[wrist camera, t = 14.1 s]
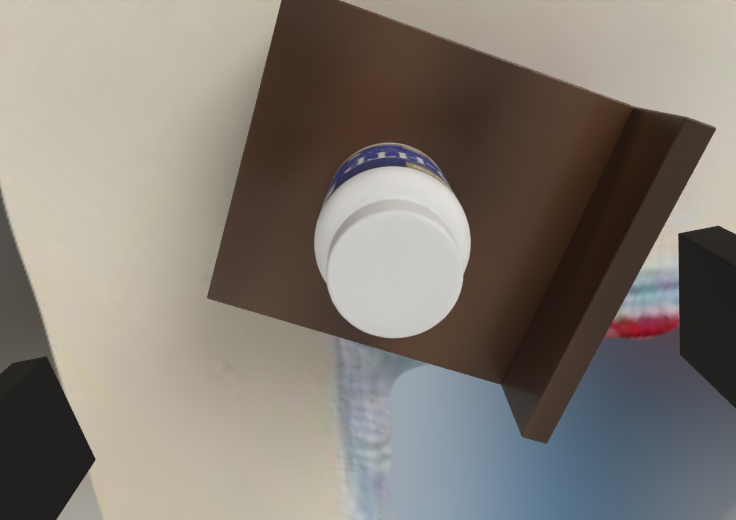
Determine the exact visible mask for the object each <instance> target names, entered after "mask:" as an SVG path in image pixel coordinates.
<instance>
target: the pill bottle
mask: <svg viewBox="0 0 736 520" xmlns="http://www.w3.org/2000/svg"><path fill="white" fill-rule="evenodd" d="M470 248H471V237H470V229H469V225H468V221H467V218H466V215H465V213H464V211H463V208H462V206H461V204H460V203H459V201H458V199H457V197H456V196H455V194H454V192H453V191H452V189H451V187H450V185H449V184H448V182H447V180H446V178H445V177H444V175H443V173H442V172H441V170H440V169H439V167H438V166H437V165H436V164H435V162H434V161H433V160H432V159H431V158H429V157H428V156H427V155H426V154H424V153H422V152H421V151H419V150H417V149H415V148H413V147H410V146H407V145H404V144H399V143H379V144H374V145H371V146H368V147H365V148H363V149H361V150H359V151H357V152H356V153H354V154H353V155H351V156H350V157H349V158H348V159H347V160H346V161H345V162H344V163H343V164H342V165H341V166H340V167H339V169H338V170H337V172H336V174H335V175H334V177H333V179H332V182H331V184H330V187H329V189H328V192H327V195H326V197H325V200H324V203H323V206H322V208H321V211H320V214H319V217H318V220H317V224H316V229H315V237H314V249H315V257H316V261H317V265H318V268H319V270H320V272H321V275H322V277H323V279H324V280H325V282H326V284H327V287H328V291H329V294H330V297H331V299H332V302H333V303H334V305H335V307H336V308H337V310H338V311H339V313H340V314H341V315H342V316H343V317H344V318H345V319H346V320H347V321H348V322H349V323H350V324H352V325H353V326H355V327H356V328H358V329H360V330H362V331H363V332H366V333H368V334H371V335H375V336H379V337H384V338H404V337H409V336H414V335H417V334H420V333H422V332H425V331H427V330H429V329H430V328H432V327H434V326H435V325H436V324H438V323H439V322H440V321H441V320H442V319H444V318H445V317H446V316H447V315H448V313H449V312H450V311H451V310H452V308H453V307H454V305H455V303H456V301H457V300H458V297H459V295H460V292H461V288H462V284H463V274H464V272H465V269H466V267H467V264H468V260H469V256H470Z"/></svg>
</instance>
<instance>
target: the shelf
mask: <svg viewBox="0 0 736 520" xmlns="http://www.w3.org/2000/svg"><path fill="white" fill-rule="evenodd" d="M715 130H716V128H715V127H713V126H710V125H708V124H705V123H702V122H699V121H697V120H694V119H691V118H688V117H684V116H679V115H674V114H669V113H664V112H658V111H653V110H648V109H643V108H638V107H634V106H631V105H629V104H626V103H623V102H620V101H618V100H615V99H612V98H609V97H606V96H604V95H601V94H598V93H595V92H593V91H590V90H587V89H584V88H582V87H579V86H576V85H573V84H570V83H568V82H565V81H562V80H559V79H557V78H554V77H551V76H548V75H545V74H543V73H540V72H537V71H534V70H532V69H529V68H526V67H523V66H521V65H518V64H515V63H512V62H509V61H507V60H504V59H501V58H498V57H496V56H493V55H490V54H487V53H484V52H482V51H479V50H476V49H473V48H471V47H468V46H465V45H462V44H460V43H457V42H454V41H451V40H448V39H446V38H443V37H440V36H437V35H435V34H432V33H429V32H426V31H423V30H421V29H418V28H415V27H412V26H410V25H407V24H404V23H401V22H399V21H396V20H393V19H390V18H387V17H385V16H382V15H379V14H376V13H374V12H371V11H368V10H365V9H362V8H360V7H357V6H354V5H351V4H349V3H346V2H343V1H340V0H282V1H281V5H280V9H279V13H278V17H277V21H276V25H275V29H274V33H273V37H272V41H271V45H270V49H269V53H268V57H267V61H266V65H265V68H264V72H263V76H262V80H261V84H260V88H259V92H258V96H257V100H256V104H255V108H254V112H253V116H252V120H251V124H250V128H249V132H248V136H247V140H246V144H245V148H244V152H243V156H242V160H241V164H240V168H239V172H238V176H237V180H236V184H235V188H234V192H233V196H232V200H231V204H230V208H229V212H228V216H227V220H226V224H225V228H224V232H223V236H222V240H221V244H220V248H219V252H218V256H217V260H216V264H215V268H214V272H213V276H212V280H211V284H210V288H209V292H208V296H207V298H208V299H211V300H215V301H218V302H222V303H225V304H228V305H232V306H235V307H239V308H242V309H245V310H249V311H252V312H256V313H259V314H262V315H266V316H269V317H273V318H276V319H279V320H283V321H286V322H290V323H293V324H296V325H300V326H303V327H307V328H310V329H313V330H317V331H320V332H324V333H327V334H330V335H334V336H337V337H341V338H344V339H347V340H351V341H354V342H358V343H361V344H365V345H368V346H371V347H375V348H378V349H382V350H385V351H388V352H392V353H395V354H399V355H402V356H405V357H409V358H412V359H416V360H419V361H422V362H426V363H429V364H433V365H436V366H440V367H443V368H446V369H450V370H453V371H456V372H460V373H463V374H467V375H470V376H474V377H477V378H481V379H484V380H487V381H490V382H494V383H497V384H501V385H502V388H503V391H504V393H505V396H506V398H507V401H508V403H509V406H510V408H511V411H512V413H513V416H514V418H515V421H516V423H517V426H518V428H519V431H520V433H521V436H522V437H524V438H528V439H531V440H535V441H538V442H542V443H547V442H548V440H549V439H550V437H551V435H552V433H553V431H554V429H555V427H556V426H557V424H558V422H559V420H560V418H561V416H562V414H563V413H564V411H565V409H566V407H567V405H568V403H569V401H570V400H571V398H572V396H573V394H574V392H575V390H576V388H577V387H578V385H579V383H580V381H581V379H582V377H583V375H584V374H585V372H586V370H587V368H588V366H589V364H590V362H591V361H592V358H593V357H594V355H595V353H596V351H597V349H598V348H599V346H600V344H601V342H602V340H603V338H604V336H605V335H606V333H607V331H608V329H609V327H610V325H611V323H612V322H613V320H614V318H615V316H616V314H617V312H618V310H619V309H620V307H621V305H622V303H623V301H624V299H625V297H626V296H627V294H628V292H629V290H630V288H631V286H632V284H633V282H634V281H635V279H636V277H637V275H638V273H639V271H640V269H641V268H642V266H643V264H644V262H645V260H646V258H647V256H648V255H649V253H650V251H651V249H652V247H653V245H654V243H655V242H656V240H657V238H658V236H659V234H660V232H661V230H662V229H663V227H664V225H665V223H666V221H667V219H668V217H669V216H670V214H671V212H672V210H673V208H674V206H675V204H676V203H677V201H678V199H679V197H680V195H681V193H682V191H683V190H684V188H685V186H686V184H687V182H688V180H689V178H690V177H691V175H692V173H693V171H694V169H695V167H696V165H697V164H698V162H699V160H700V158H701V156H702V154H703V152H704V151H705V149H706V147H707V145H708V143H709V141H710V139H711V137H712V136H713V134H714V132H715ZM379 143H399V144H404V145H407V146H410V147H413V148H415V149H417V150H419V151H421V152H422V153H424V154H426V155H427V156H428V157H429V158H431V159H432V160H433V161H434V162H435V164H436V165H437V166H438V167H439V169H440V170H441V172H442V173H443V175H444V177H445V178H446V180H447V182H448V184H449V185H450V187H451V189H452V191H453V192H454V194H455V196H456V197H457V199H458V201H459V203H460V204H461V206H462V208H463V211H464V213H465V215H466V218H467V221H468V225H469V229H470V237H471V248H470V256H469V260H468V264H467V267H466V269H465V272H464V274H463V284H462V288H461V292H460V295H459V297H458V300H457V301H456V303H455V305H454V307H453V308H452V310H451V311H450V312H449V313H448V315H447V316H446V317H445V318H444V319H442V320H441V321H440V322H439V323H438V324H436V325H435V326H434V327H432V328H430V329H429V330H427V331H425V332H422V333H420V334H417V335H414V336H409V337H404V338H384V337H379V336H375V335H371V334H368V333H366V332H363V331H362V330H360V329H358V328H356V327H355V326H353V325H352V324H350V323H349V322H348V321H347V320H346V319H345V318H344V317H343V316H342V315H341V314H340V313H339V311H338V310H337V308H336V307H335V305H334V303H333V302H332V299H331V297H330V294H329V291H328V287H327V284H326V282H325V280H324V279H323V277H322V275H321V272H320V270H319V268H318V265H317V261H316V257H315V249H314V237H315V229H316V224H317V220H318V217H319V214H320V211H321V208H322V206H323V203H324V200H325V197H326V195H327V192H328V189H329V187H330V184H331V182H332V179H333V177H334V175H335V174H336V172H337V170H338V169H339V167H340V166H341V165H342V164H343V163H344V162H345V161H346V160H347V159H348V158H349V157H350V156H351V155H353V154H354V153H356V152H357V151H359V150H361V149H363V148H365V147H368V146H371V145H374V144H379Z"/></svg>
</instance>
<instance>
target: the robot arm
mask: <svg viewBox="0 0 736 520" xmlns="http://www.w3.org/2000/svg"><path fill="white" fill-rule="evenodd" d="M678 240H679V315H680V355H681V356H682V357H683V358H684V359H685V360H686V361H688V363H689V364H690V365H691V366H692V367H694V369H695V370H696V371H698V372H699V373H700V374H701V375H702V376H703V377H704V378H705V379H706V380H707V381H708V382H709V383H710V384H711V385H712V386H713V387H714V388H716V390H717V391H718V392H719V393H720V394H721V395H723V396H724V397H725V398H726V399H727V400H728V401H729V402H730V403H731V404H732V405H733V406H734V407H735V408H736V234H734V233H732V232H730V231H728V230H726V229H724V228H722V227H720V226H715V227H710V228H705V229H699V230H694V231H689V232H684V233H679V234H678ZM95 460H96V459H95V457H94V455H93V453H92V451H91V449H90V447H89V445H88V442H87V440H86V438H85V436H84V434H83V432H82V430H81V428H80V426H79V424H78V421H77V419H76V417H75V415H74V413H73V411H72V409H71V407H70V405H69V402H68V400H67V398H66V396H65V394H64V392H63V390H62V388H61V386H60V384H59V381H58V379H57V378H56V375H55V373H54V371H53V369H52V367H51V365H50V363H49V361H48V358H47V357H41V358H36V359H31V360H26V361H21V362H16V363H12V364H11V365H10V366H9V367H8V368H7V369H6V370H4V371H3V372H2V373H1V374H0V520H56V519H57V518H58V516H59V515H60V513H61V512H62V510H63V509H64V507H65V506H66V504H67V502H68V501H69V499H70V498H71V496H72V495H73V493H74V492H75V490H76V489H77V487H78V486H79V484H80V483H81V481H82V480H83V478H84V477H85V475H86V474H87V472H88V471H89V469H90V468H91V466H92V465H93V463H94V462H95Z"/></svg>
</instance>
